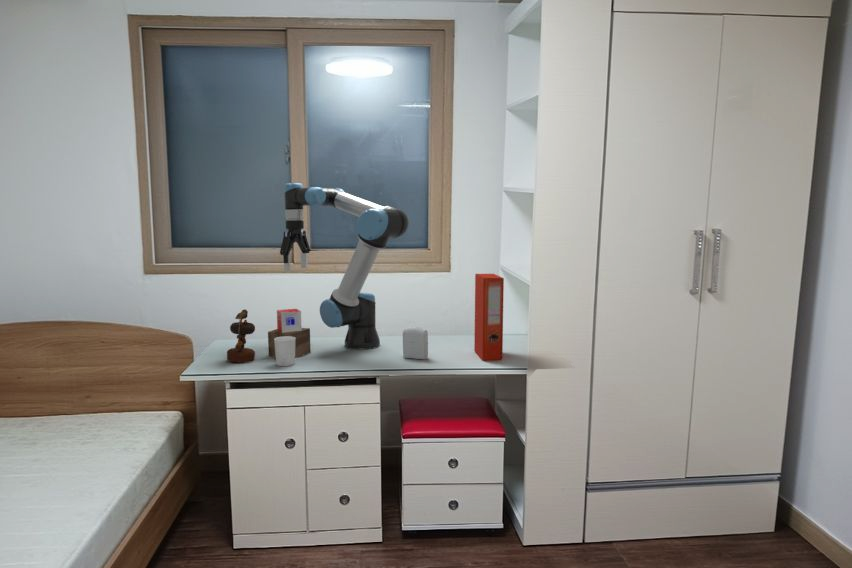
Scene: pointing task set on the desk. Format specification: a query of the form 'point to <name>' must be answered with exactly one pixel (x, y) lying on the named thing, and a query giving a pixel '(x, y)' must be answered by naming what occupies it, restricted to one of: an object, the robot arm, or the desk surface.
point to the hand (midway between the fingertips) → (296, 269)
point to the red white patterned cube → (289, 320)
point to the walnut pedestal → (300, 343)
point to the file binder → (489, 316)
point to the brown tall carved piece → (241, 340)
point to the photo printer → (415, 343)
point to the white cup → (285, 350)
